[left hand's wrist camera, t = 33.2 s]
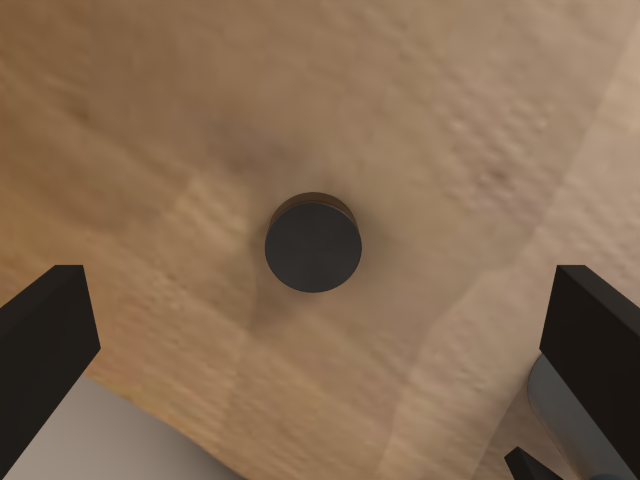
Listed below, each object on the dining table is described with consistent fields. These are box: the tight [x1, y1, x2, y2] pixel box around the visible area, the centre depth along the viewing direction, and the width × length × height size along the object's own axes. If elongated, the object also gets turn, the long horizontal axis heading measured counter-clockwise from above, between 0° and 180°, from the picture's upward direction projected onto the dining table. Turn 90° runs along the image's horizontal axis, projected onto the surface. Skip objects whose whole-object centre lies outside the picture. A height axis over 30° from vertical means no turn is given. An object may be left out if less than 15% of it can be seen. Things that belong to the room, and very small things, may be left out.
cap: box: [265, 192, 362, 293], centre depth 20 cm, size 4×4×2 cm
